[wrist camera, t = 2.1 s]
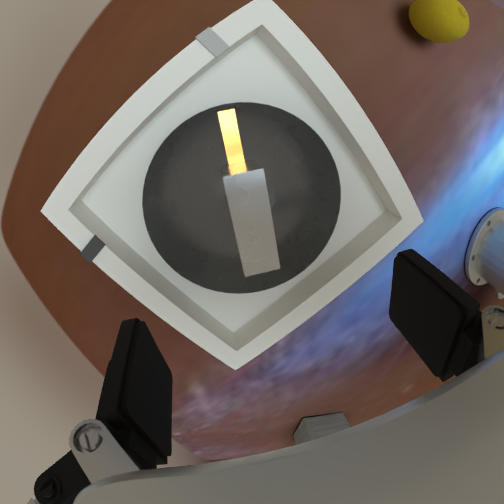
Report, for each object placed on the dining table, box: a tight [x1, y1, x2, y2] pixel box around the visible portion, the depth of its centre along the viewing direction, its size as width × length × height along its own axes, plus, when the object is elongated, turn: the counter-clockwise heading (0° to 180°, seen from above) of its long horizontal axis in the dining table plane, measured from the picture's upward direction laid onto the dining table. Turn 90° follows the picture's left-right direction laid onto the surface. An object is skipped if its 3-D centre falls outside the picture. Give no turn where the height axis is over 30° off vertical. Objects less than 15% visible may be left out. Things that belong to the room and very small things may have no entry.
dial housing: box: [41, 0, 424, 370], centre depth 24 cm, size 24×24×5 cm
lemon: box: [409, 0, 469, 43], centre depth 17 cm, size 6×6×8 cm
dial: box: [142, 102, 341, 294], centre depth 21 cm, size 16×16×6 cm
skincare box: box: [293, 412, 350, 445], centre depth 38 cm, size 8×7×16 cm
